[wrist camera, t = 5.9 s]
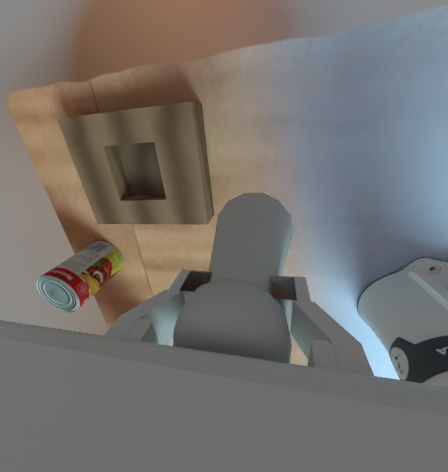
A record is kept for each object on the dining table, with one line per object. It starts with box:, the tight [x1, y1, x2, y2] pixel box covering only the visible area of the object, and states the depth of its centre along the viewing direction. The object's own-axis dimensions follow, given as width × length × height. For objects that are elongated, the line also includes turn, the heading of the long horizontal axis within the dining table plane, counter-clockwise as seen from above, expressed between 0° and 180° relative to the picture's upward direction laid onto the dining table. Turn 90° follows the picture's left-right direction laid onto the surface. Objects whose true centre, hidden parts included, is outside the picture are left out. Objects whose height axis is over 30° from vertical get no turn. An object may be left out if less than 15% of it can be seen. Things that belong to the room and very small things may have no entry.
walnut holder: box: [58, 101, 214, 224], centre depth 32 cm, size 20×16×4 cm
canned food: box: [36, 241, 124, 312], centre depth 40 cm, size 8×8×12 cm
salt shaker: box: [173, 193, 293, 363], centre depth 12 cm, size 6×6×13 cm
